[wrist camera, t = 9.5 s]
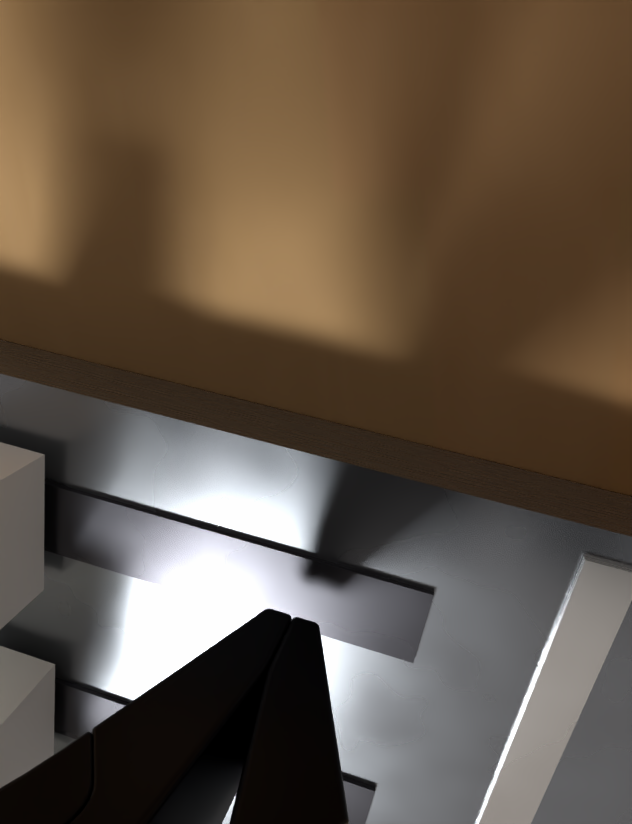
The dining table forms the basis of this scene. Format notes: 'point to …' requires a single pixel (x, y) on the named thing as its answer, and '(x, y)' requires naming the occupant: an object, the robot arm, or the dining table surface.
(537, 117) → the dining table surface
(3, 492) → the block
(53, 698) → the breaker
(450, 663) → the panel
